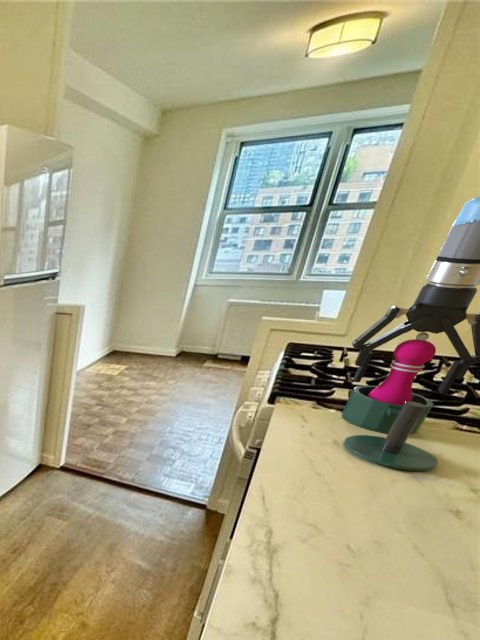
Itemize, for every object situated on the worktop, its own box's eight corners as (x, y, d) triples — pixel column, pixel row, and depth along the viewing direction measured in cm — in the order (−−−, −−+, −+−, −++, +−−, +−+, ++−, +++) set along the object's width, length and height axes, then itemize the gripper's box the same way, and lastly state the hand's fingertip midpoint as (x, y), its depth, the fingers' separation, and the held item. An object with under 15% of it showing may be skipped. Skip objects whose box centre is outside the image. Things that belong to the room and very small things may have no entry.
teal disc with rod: (426, 450, 98) (456, 399, 92) (443, 480, 88) (478, 425, 83) (338, 434, 105) (362, 386, 99) (345, 460, 95) (372, 408, 90)
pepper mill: (405, 422, 108) (455, 333, 99) (392, 429, 105) (442, 339, 96) (365, 410, 114) (408, 326, 104) (351, 417, 111) (394, 331, 101)
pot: (408, 414, 113) (422, 388, 109) (426, 445, 100) (443, 416, 97) (337, 403, 119) (349, 378, 116) (346, 430, 106) (359, 403, 103)
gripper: (369, 282, 99) (325, 380, 109) (556, 294, 86) (486, 403, 96) (364, 277, 104) (322, 371, 114) (539, 287, 91) (475, 391, 101)
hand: (397, 386), depth 105 cm, fingers open, 13 cm apart
